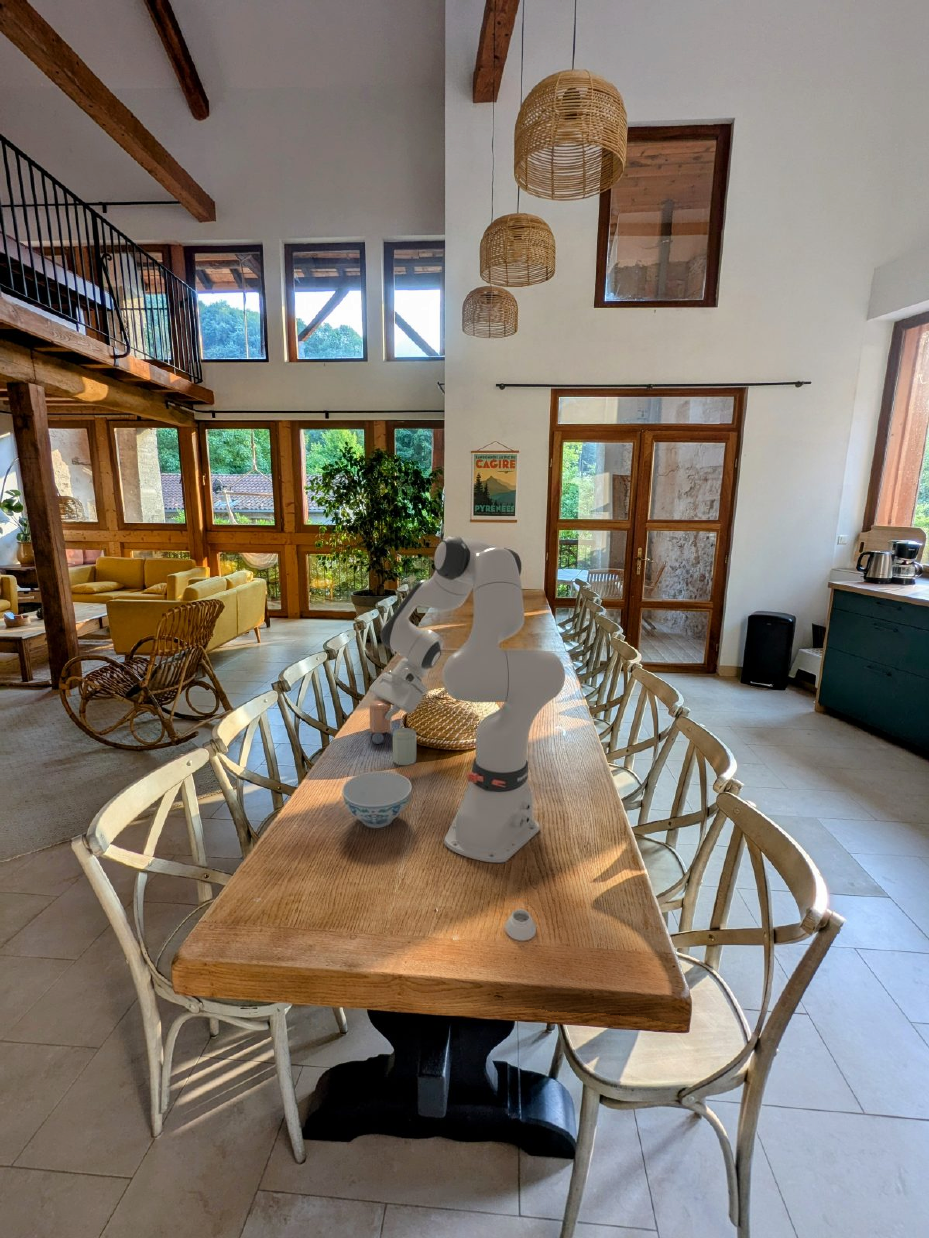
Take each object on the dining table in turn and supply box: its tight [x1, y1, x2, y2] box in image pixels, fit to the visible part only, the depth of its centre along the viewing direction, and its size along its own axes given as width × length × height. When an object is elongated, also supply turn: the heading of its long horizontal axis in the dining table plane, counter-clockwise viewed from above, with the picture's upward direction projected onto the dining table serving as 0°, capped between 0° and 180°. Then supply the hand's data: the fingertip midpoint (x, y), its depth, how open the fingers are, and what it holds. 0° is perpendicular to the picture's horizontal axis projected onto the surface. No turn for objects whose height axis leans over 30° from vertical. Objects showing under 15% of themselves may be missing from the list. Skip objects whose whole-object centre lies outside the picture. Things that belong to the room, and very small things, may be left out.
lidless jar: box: [504, 908, 537, 942], centre depth 93 cm, size 5×3×5 cm
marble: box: [371, 733, 385, 745], centre depth 163 cm, size 3×3×3 cm
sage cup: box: [392, 727, 417, 766], centre depth 152 cm, size 6×6×8 cm
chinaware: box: [341, 770, 413, 829], centre depth 124 cm, size 15×15×8 cm
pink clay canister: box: [369, 700, 392, 734], centre depth 169 cm, size 6×6×8 cm
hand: (378, 714), depth 168 cm, fingers closed on pink clay canister, 6 cm apart
